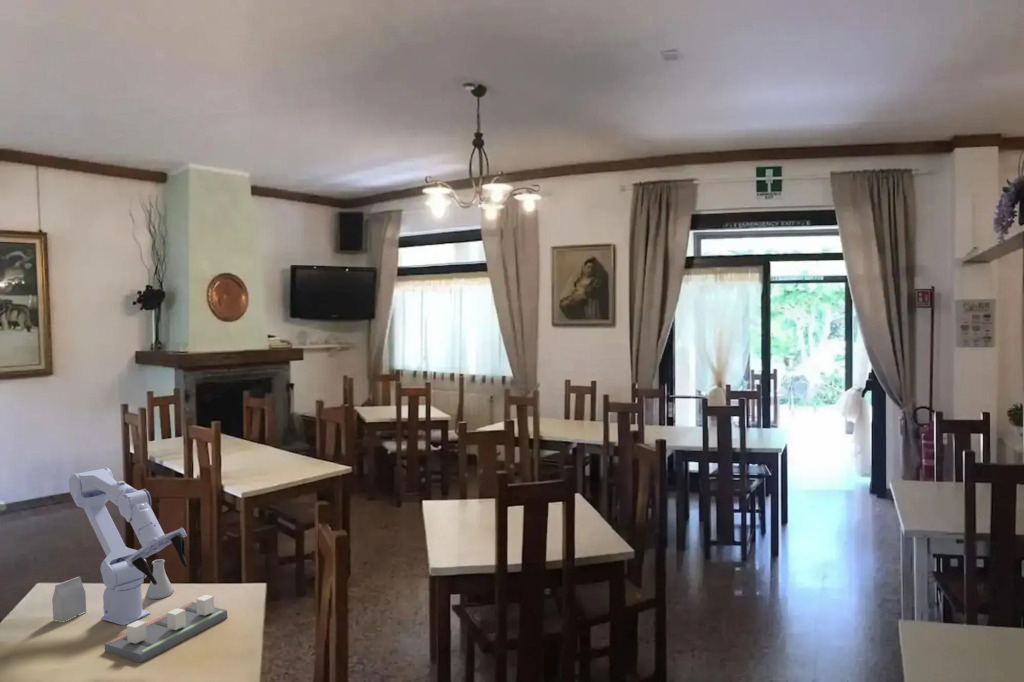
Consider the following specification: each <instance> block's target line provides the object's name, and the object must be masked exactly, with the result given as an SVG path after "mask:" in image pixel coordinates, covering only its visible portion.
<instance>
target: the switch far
mask: <svg viewBox="0 0 1024 682" xmlns="http://www.w3.org/2000/svg"><path fill="white" fill-rule="evenodd" d="M214 601H215V599H214V596H212V595H210V594H209V595H208V594H204V595H202V596H199V597H197V598H196V601H195V603H197V614H201V615H207V614H209V613H211V612H213V611H214V607H215V602H214Z"/></svg>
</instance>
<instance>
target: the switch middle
mask: <svg viewBox="0 0 1024 682" xmlns="http://www.w3.org/2000/svg"><path fill="white" fill-rule="evenodd" d="M166 614H167V622H168V628H170V629H173V630H177V629H179V628H181V627H183V626H185V625H186V613H185V610H183V609H179V608H178V607H176V608H174V609H172V610H169V611H167V613H166Z"/></svg>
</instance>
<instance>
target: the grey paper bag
mask: <svg viewBox="0 0 1024 682" xmlns="http://www.w3.org/2000/svg"><path fill="white" fill-rule="evenodd" d="M51 600H52V601H51V603H52V605H51V606H52V620H53V619H54V620H58V621H61V622H63V621H66V620H68V619H70V618H72V617H74V616H77V615H79V614H81V613H83V612H86V613H87V600H86V590H85V587H84V584H83V582H82V578H81V576H77V577H74V578H71V579H69V580H66V581H63V582H59V583H57V584H56V585H55V586H54V592H53V595H52V599H51ZM68 621H69V620H68ZM66 622H67V621H66Z"/></svg>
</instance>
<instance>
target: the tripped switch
mask: <svg viewBox="0 0 1024 682" xmlns="http://www.w3.org/2000/svg"><path fill="white" fill-rule="evenodd" d="M146 624H147V622H146V621H143V620H139V619H137V620H135V621H133V622H131V623H129V624H126V633H127V641H128V642H132V643H135V644H136V643H138V642H140V641H142V640H144V639H146V638H147V632H146Z"/></svg>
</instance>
